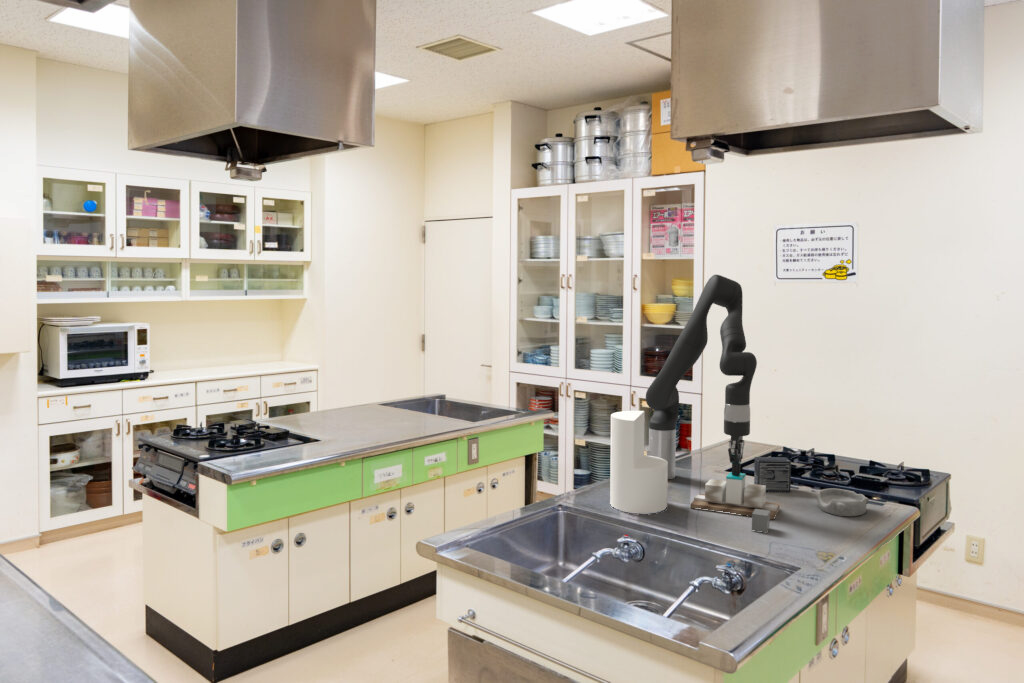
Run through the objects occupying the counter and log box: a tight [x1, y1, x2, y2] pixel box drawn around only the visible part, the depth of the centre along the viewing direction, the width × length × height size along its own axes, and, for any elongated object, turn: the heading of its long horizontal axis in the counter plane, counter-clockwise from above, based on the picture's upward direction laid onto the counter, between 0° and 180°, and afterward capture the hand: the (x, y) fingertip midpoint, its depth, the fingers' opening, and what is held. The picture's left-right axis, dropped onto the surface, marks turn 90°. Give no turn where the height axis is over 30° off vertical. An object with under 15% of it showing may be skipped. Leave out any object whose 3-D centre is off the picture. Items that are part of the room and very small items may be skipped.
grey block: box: [751, 509, 771, 533], centre depth 209 cm, size 4×5×5 cm
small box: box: [753, 456, 792, 494], centre depth 247 cm, size 11×6×10 cm, turn 84°
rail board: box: [690, 478, 781, 520], centre depth 227 cm, size 24×12×7 cm, turn 63°
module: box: [725, 471, 746, 505], centre depth 227 cm, size 4×6×8 cm
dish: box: [817, 487, 869, 517], centre depth 226 cm, size 14×14×5 cm
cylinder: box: [609, 410, 668, 513], centre depth 230 cm, size 17×17×28 cm
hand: (736, 475), depth 227 cm, fingers closed
